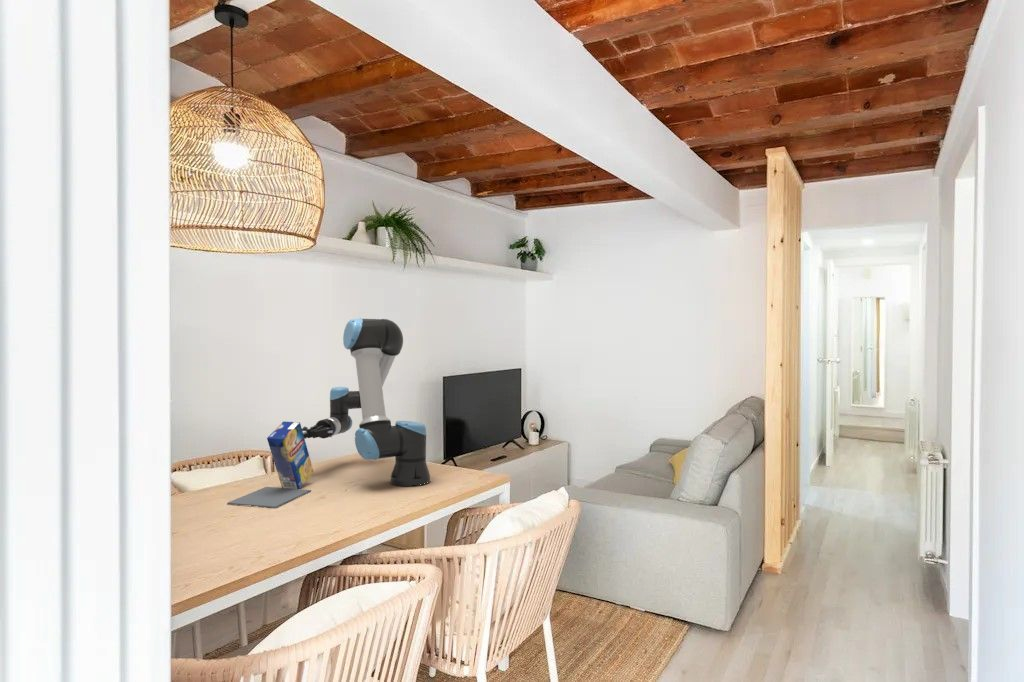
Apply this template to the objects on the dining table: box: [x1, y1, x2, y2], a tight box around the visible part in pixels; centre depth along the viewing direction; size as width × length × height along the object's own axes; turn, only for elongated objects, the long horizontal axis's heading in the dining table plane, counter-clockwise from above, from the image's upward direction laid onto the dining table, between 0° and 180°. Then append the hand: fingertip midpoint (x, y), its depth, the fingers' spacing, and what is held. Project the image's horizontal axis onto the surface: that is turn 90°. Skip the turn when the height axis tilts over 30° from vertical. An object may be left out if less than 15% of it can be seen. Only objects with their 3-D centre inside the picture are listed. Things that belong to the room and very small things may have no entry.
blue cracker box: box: [266, 420, 314, 489], centre depth 235 cm, size 7×11×22 cm, turn 166°
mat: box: [226, 486, 312, 509], centre depth 223 cm, size 18×22×1 cm
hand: (295, 437), depth 239 cm, fingers closed
